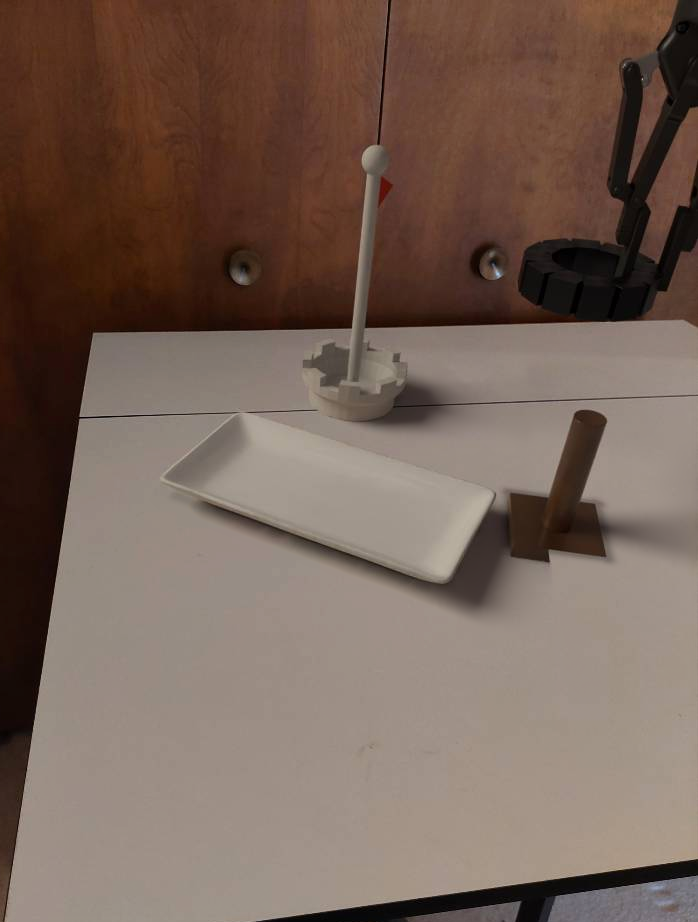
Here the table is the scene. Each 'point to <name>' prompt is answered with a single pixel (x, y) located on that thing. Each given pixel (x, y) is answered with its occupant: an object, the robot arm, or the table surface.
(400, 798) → the table surface
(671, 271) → the robot arm
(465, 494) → the tray
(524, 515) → the post
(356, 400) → the flag stand
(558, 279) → the ring
